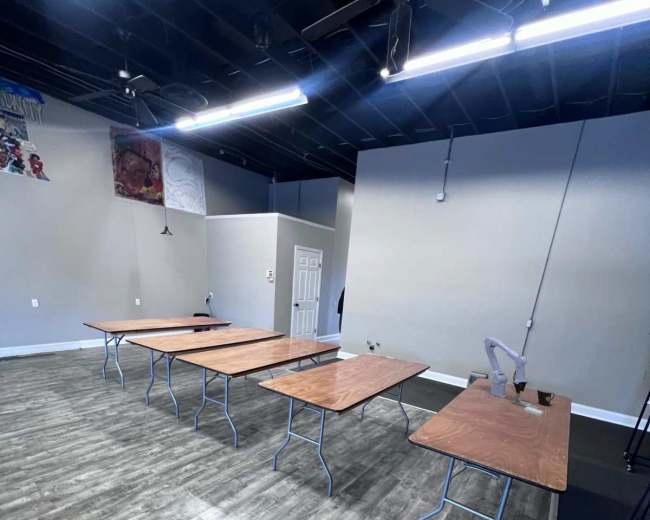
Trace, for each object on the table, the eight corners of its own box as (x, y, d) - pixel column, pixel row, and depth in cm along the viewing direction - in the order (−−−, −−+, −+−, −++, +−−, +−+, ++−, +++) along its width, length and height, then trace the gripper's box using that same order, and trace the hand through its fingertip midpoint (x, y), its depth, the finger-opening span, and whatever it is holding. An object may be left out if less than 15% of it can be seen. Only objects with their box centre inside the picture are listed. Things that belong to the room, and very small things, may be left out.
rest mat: (510, 402, 217) (510, 401, 217) (514, 400, 222) (514, 399, 222) (535, 410, 205) (535, 409, 205) (539, 407, 210) (539, 407, 210)
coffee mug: (538, 405, 215) (538, 391, 215) (535, 401, 223) (535, 387, 223) (558, 408, 210) (558, 394, 211) (554, 404, 218) (554, 390, 219)
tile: (524, 408, 202) (540, 413, 195) (527, 406, 206) (543, 411, 200) (524, 411, 202) (540, 417, 195) (527, 409, 206) (543, 414, 199)
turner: (513, 401, 217) (513, 391, 217) (516, 400, 220) (516, 390, 221) (529, 406, 209) (529, 396, 209) (532, 405, 213) (532, 395, 213)
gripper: (523, 376, 210) (522, 395, 209) (530, 373, 219) (529, 392, 218) (511, 373, 216) (511, 392, 214) (519, 370, 224) (518, 389, 223)
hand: (519, 392), depth 217 cm, fingers open, 7 cm apart
